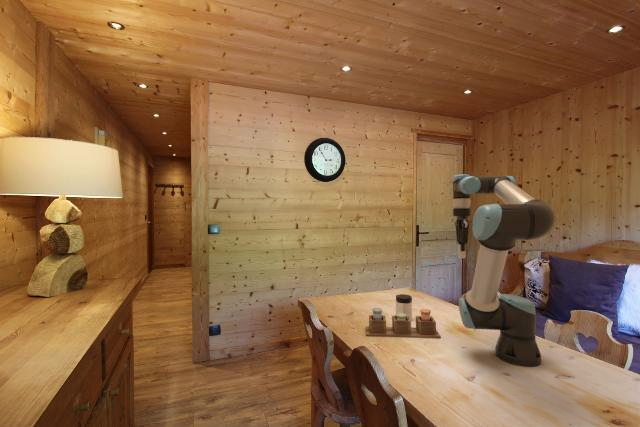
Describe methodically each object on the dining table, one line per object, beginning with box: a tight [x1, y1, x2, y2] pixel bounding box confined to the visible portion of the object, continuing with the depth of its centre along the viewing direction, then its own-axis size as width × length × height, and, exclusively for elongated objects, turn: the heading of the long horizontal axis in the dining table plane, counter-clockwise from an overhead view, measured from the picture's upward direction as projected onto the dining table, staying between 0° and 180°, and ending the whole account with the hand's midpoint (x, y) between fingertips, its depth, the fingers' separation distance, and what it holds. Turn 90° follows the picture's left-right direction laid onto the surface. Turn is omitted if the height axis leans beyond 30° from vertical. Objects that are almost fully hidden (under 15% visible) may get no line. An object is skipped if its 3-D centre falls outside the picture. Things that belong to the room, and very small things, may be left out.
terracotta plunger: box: [419, 308, 432, 321], centre depth 147 cm, size 5×5×7 cm
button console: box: [365, 314, 442, 339], centre depth 148 cm, size 10×33×7 cm, turn 84°
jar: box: [395, 294, 413, 322], centre depth 167 cm, size 9×8×12 cm
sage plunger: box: [395, 313, 406, 320], centre depth 148 cm, size 5×5×7 cm
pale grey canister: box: [371, 307, 383, 320], centre depth 150 cm, size 5×5×7 cm
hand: (462, 257), depth 150 cm, fingers closed
